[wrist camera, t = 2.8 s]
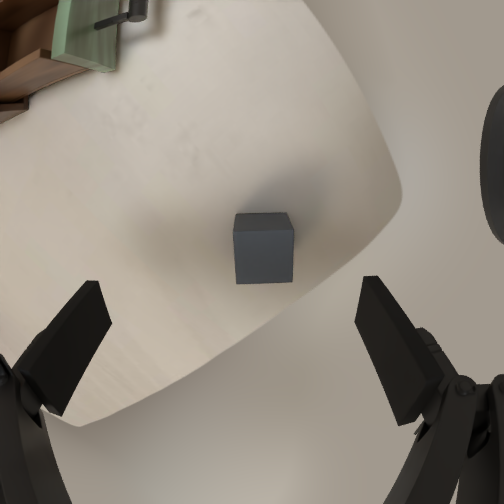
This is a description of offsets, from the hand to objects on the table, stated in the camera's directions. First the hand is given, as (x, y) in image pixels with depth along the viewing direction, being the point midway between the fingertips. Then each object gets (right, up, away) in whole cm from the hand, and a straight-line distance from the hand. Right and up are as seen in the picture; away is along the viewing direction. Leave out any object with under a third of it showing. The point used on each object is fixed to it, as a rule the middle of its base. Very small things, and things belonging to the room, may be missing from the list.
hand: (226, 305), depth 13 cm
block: (+2, +4, +12) cm, 13 cm away
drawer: (-16, +23, +2) cm, 28 cm away
